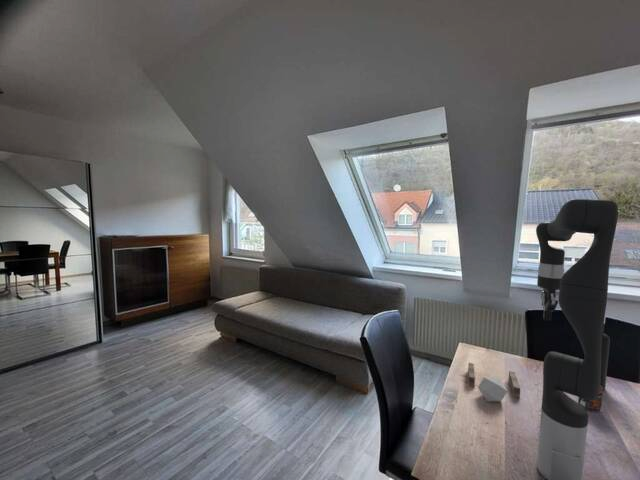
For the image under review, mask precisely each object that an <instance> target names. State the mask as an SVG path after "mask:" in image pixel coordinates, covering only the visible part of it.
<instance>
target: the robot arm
mask: <svg viewBox="0 0 640 480" xmlns="http://www.w3.org/2000/svg"><path fill="white" fill-rule="evenodd" d="M618 219H619V207H618V204H617V203H616V202H615V200H610V199H595V198H593V199H590V198H572V199H568V200H567V201H566V202H565V203H563V205H562V206H561V208H560V210H559V211H558V213H557V214H556V216H555V218H554V219H553V220H551V221H543V222H540V223H539V224H538V225H536V228H535V233H536V237H537V241H538V244H539V263H538V265H539V266H538V269H537V281H536V282H537V283H536V285H537V287H539V288H541V289H542V290H541V292H540V299H541V307H542V309H543V314H542V316H543V317H542V318H543V320H544V321H548V322H550V321H552V317H553V316H552V314H553V312H555V310H556V308H557V306H558V304H559V307H560V309H561V311H562V313H563V315H564V316H565V318H566V319H567V321H568V322H569V324H570V326H571V327H572V329H573V331H575V335H576V336H577V338H578V340H579V342H580V345H581V348H582V350H583V355H584V358H583V359H582V358H579V357H576V356H573V355H572V356H571V355H569V354H564V353H561V352H557V351H549V352H547V353H546V355H545V357H544V359H543V365H542V366H543V367H542V376H543V377H542V398H541V408H540V409H541V410H540V421H539V422H540V423H539V432H538V433H539V435H538V444H537V445H538V446H537V459H536V467H537V470H538V472H539V473H540V475H541V476H542V477H543V478H544V479H545V480H546V479H547V480H583V479H584V477H583V476H584V466H585V457H586V456H585V455H586V445H587V436H588V435H587V434H588V425H589V414H588V410H586V409H584V407H583V406H581V405H580V404H579V403H578V401H576V400H574V399H573V398H572V397H570V396H568V394H570V395H572V396H573V397H574V396H575V397H577V398H579V397H580V398H583V399H586V400H590V401H593V400H595V399H596V398H597V397H598V394H599V390H600V382H601V347H602V332H603V324H604V318H605V316H606V309H607V301H608V291H609V276H610V275H609V273H610V261H611V255H612V249H613V243H614V239H615V235H616V229H617V223H618ZM576 233H580V234H590V235H591V234H593V238H592V239H593V240H592V243H591V245H590V247H589V248H588V249H587V251H586V253H584V254H583V255H582V256H581V258H579V260H577V261H576V262H575V263H574V264H573V265H572V266H570V267H569V268H568V269H567V270H566V271H565V250H564V248H561V247H555V246H552V245H550V244H549V242H569V241H570V240H571V239H572V238H573V235H575V234H576ZM557 290H558V292H559V293H558V294H557V293H556V291H557ZM557 298H558V300H557ZM605 319H606V318H605Z"/></svg>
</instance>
